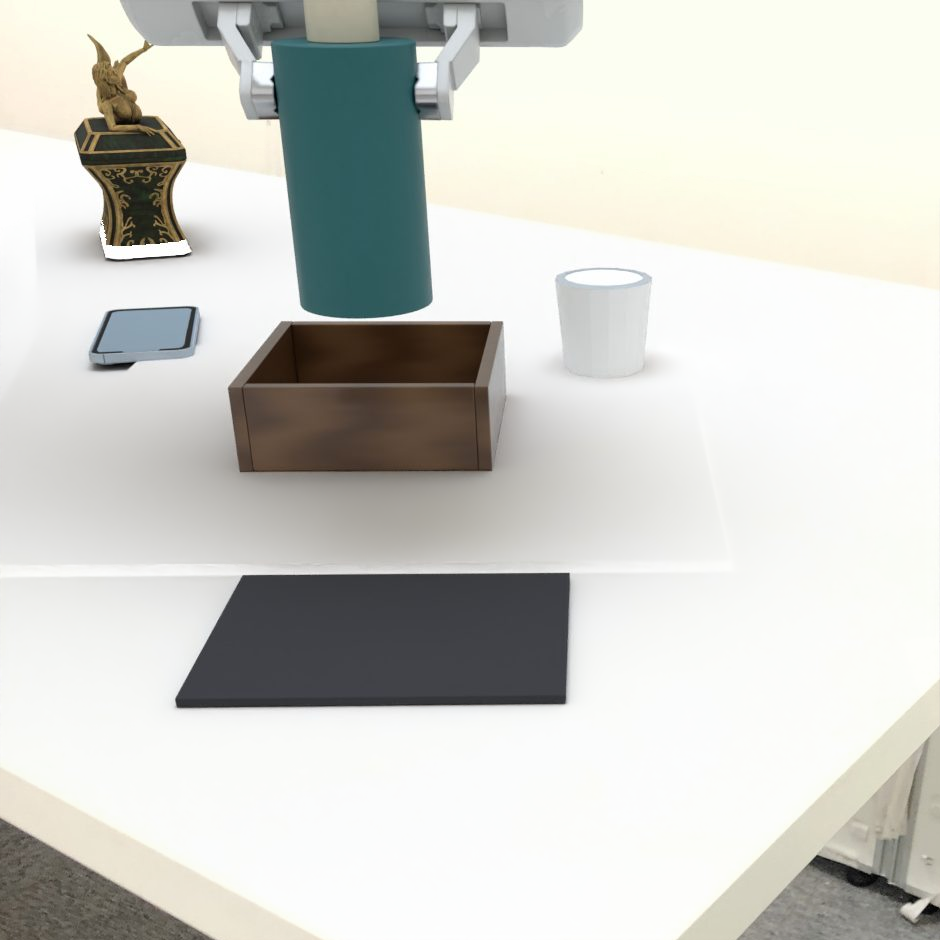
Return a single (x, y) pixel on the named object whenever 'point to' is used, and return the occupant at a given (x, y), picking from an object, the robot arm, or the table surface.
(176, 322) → the smartphone
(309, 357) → the wooden box
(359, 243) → the bottle
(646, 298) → the white cup
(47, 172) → the table surface
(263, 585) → the mat
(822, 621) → the table surface
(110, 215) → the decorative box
